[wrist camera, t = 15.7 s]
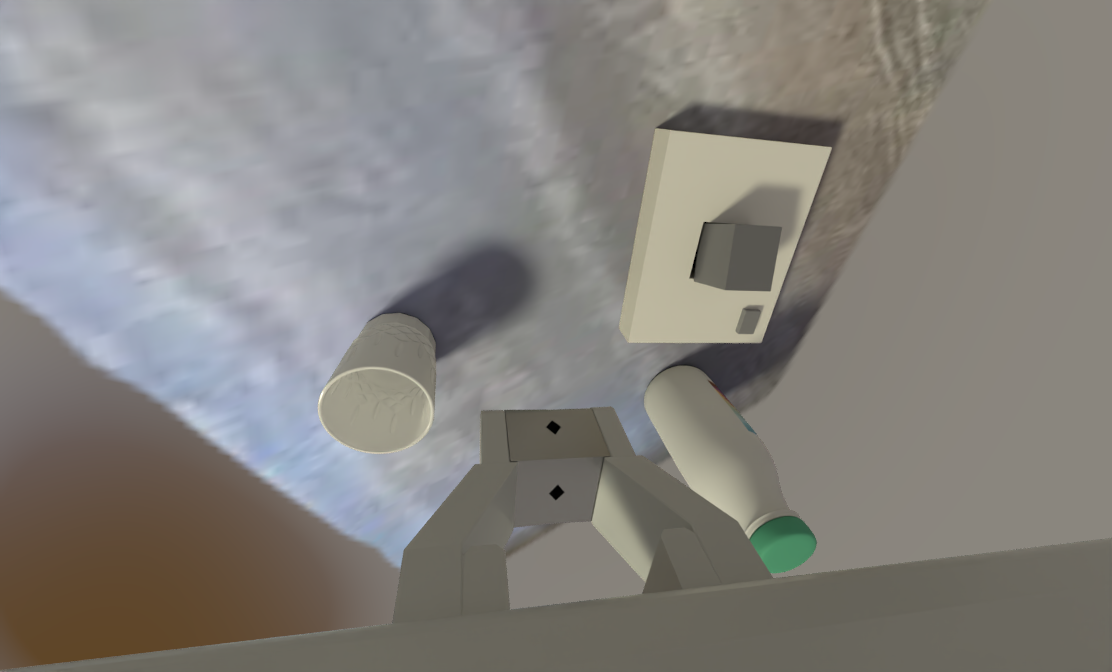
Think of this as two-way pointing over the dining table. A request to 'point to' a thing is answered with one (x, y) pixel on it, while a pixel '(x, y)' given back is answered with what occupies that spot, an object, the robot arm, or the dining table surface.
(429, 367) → the white cup
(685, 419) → the milk bottle
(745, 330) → the socket
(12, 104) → the dining table surface
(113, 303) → the dining table surface
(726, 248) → the plug
